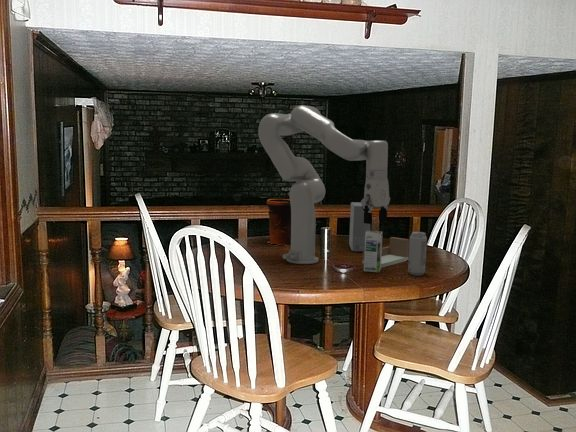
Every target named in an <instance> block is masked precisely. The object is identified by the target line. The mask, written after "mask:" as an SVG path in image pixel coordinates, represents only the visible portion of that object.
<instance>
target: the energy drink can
mask: <svg viewBox="0 0 576 432" xmlns="http://www.w3.org/2000/svg"><path fill="white" fill-rule="evenodd" d="M426 234H427V233H426V232H422V231H412V232H411V234H410V235H409V254H408V264H407V265H408V266H407V271H408V272H409V275H412V276H423V275H424V274H425V273H426V264H427V263H426V262H427V261H426V260H427V248H428V247H427V245H428V244H427V243H428V238H427V235H426Z"/></svg>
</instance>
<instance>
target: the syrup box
mask: <svg viewBox="0 0 576 432" xmlns="http://www.w3.org/2000/svg"><path fill="white" fill-rule="evenodd" d="M382 248H383V231H375V230H374V231H373V230H370V231H366V233H365V251H364V252H365V255H364V264H363V272H368V273H380V271H381V270H382V268H381V255H382Z"/></svg>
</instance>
